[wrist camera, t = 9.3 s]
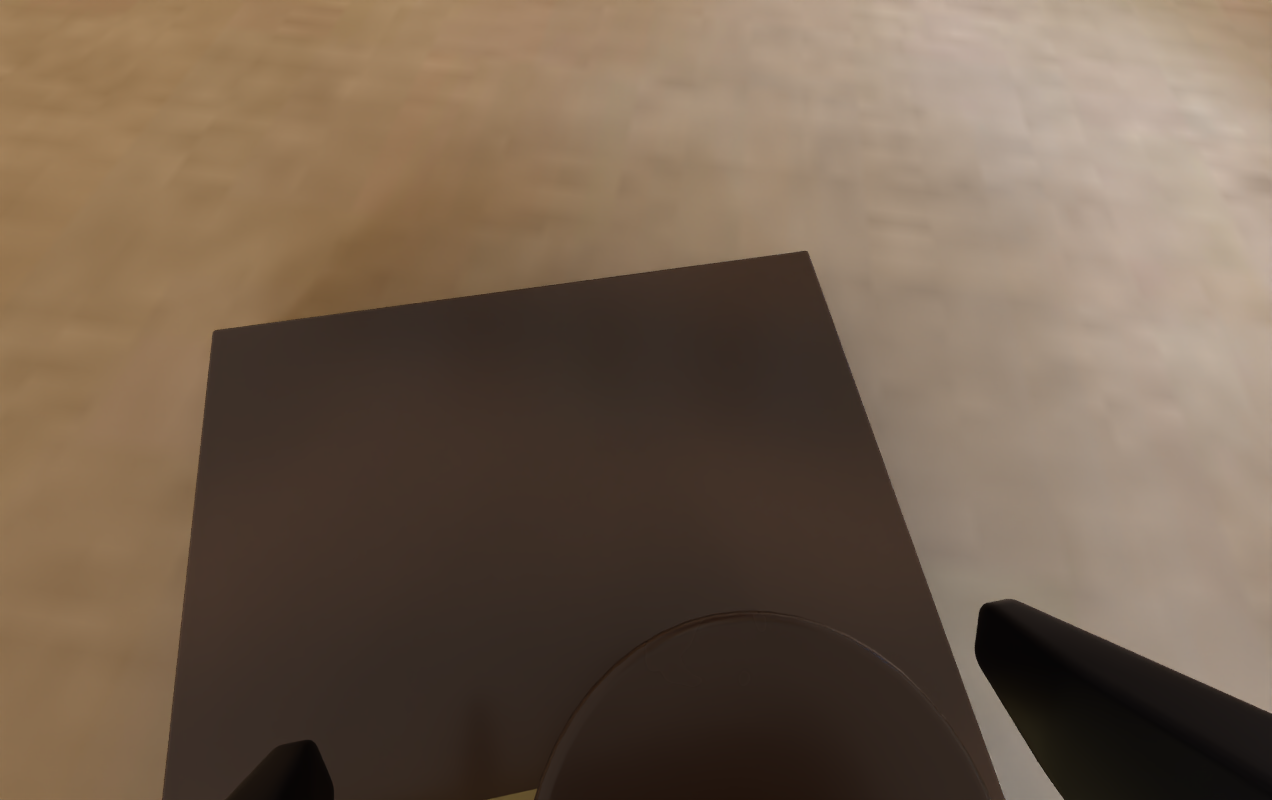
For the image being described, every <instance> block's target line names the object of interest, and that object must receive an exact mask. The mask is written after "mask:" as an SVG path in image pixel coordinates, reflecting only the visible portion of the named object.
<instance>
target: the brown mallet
mask: <svg viewBox="0 0 1272 800" xmlns="http://www.w3.org/2000/svg"><path fill="white" fill-rule="evenodd" d="M534 800H992V799H991V797H990V794H989V792H988V789H987V787H986V785H985V783H984V781H983V779H982V777H981V775H980V773H979V771H978V770H977V768H976V766H975V764H974V762H973V760H972V758H971V756H970V755H969V753H968V751H967V749H966V748H965V746H964V745H963V743H962V742H961V740H960V739H959V737H958V736H957V734H956V733H955V731H954V730H953V728H952V727H951V725H950V724H949V722H948V721H947V719H946V718H945V717H944V716H943V715H942V713H941V712H940V711H939V710H938V709H937V707H936V706H935V705H934V704H933V703H932V701H931V700H930V699H929V698H928V697H927V695H926V694H925V693H924V692H923V691H922V690H921V689H920V688H919V687H918V686H917V685H916V684H915V683H914V682H913V681H912V680H910V679H909V678H908V677H907V676H906V675H905V674H904V673H903V672H902V671H901V670H900V669H899V668H897V667H896V666H895V665H893V664H892V663H891V662H890V661H888V660H887V659H886V658H884V657H883V656H882V655H880V654H879V653H878V652H877V651H875V650H873V649H872V648H870V647H868V646H867V645H865V644H863V643H862V642H860V641H858V640H857V639H855V638H853V637H852V636H850V635H848V634H845V633H843V632H841V631H839V630H836V629H834V628H832V627H830V626H827V625H825V624H823V623H819V622H816V621H812V620H809V619H806V618H802V617H799V616H796V615H789V614H783V613H777V612H770V611H733V612H725V613H716V614H711V615H707V616H703V617H700V618H696V619H692V620H688V621H685V622H683V623H681V624H678V625H676V626H673V627H671V628H669V629H666V630H664V631H662V632H660V633H658V634H656V635H655V636H653V637H651V638H650V639H648V640H646V641H645V642H643V643H641V644H640V645H638V646H636V647H635V648H634V649H632V650H631V651H630V652H629V653H627V654H626V655H625V656H624V657H622V658H621V659H620V660H619V661H617V662H616V663H615V664H614V665H612V666H611V668H610V669H609V670H608V671H607V672H606V673H605V674H604V675H603V676H602V677H601V678H600V679H599V680H598V681H597V682H596V683H595V684H594V685H593V686H592V687H591V689H590V690H589V691H588V693H587V694H586V695H585V697H584V698H583V699H582V701H581V702H580V703H579V705H578V706H577V707H576V709H575V710H574V711H573V713H572V714H571V716H570V718H569V719H568V721H567V723H566V725H565V726H564V728H563V730H562V732H561V733H560V735H559V737H558V739H557V740H556V742H555V744H554V747H553V749H552V751H551V754H550V756H549V758H548V761H547V763H546V765H545V768H544V770H543V772H542V775H541V778H540V781H539V785H538V788H537V791H536V795H535V798H534Z"/></svg>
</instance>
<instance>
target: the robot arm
mask: <svg viewBox="0 0 1272 800" xmlns="http://www.w3.org/2000/svg"><path fill="white" fill-rule="evenodd" d="M975 655H976V659H977V661H978V664H979V666H980V668H981V670H982V671H983V673H984V674H985V676H986V678H987V679H988V681H989V683H990V684H991V686H992V688H993V689H994V691H995V692H996V694H997V696H998V697H999V699H1000V701H1001V702H1002V704H1003V706H1004V707H1005V709H1006V710H1007V712H1008V714H1009V715H1010V717H1011V719H1012V720H1013V722H1014V723H1015V725H1016V727H1017V728H1018V730H1019V732H1020V733H1021V735H1022V737H1023V738H1024V740H1025V741H1026V743H1027V745H1028V746H1029V748H1030V750H1031V751H1032V753H1033V755H1034V756H1035V758H1036V759H1037V761H1038V762H1039V764H1040V765H1041V767H1042V769H1043V770H1044V772H1045V773H1046V775H1047V776H1048V778H1049V779H1050V780H1051V782H1052V783H1053V785H1054V786H1055V787H1056V789H1057V790H1058V792H1059V793H1060V795H1061V796H1062V797H1063V799H1064V800H1272V714H1271V713H1269V712H1267V711H1264V710H1262V709H1260V708H1258V707H1255V706H1253V705H1251V704H1249V703H1246V702H1244V701H1242V700H1240V699H1237V698H1235V697H1233V696H1231V695H1228V694H1226V693H1224V692H1222V691H1219V690H1217V689H1215V688H1213V687H1210V686H1208V685H1206V684H1204V683H1201V682H1199V681H1197V680H1195V679H1192V678H1190V677H1188V676H1186V675H1183V674H1181V673H1179V672H1177V671H1174V670H1172V669H1170V668H1168V667H1165V666H1163V665H1161V664H1159V663H1156V662H1154V661H1152V660H1150V659H1147V658H1145V657H1143V656H1141V655H1138V654H1136V653H1134V652H1132V651H1129V650H1127V649H1125V648H1123V647H1120V646H1118V645H1116V644H1114V643H1111V642H1109V641H1107V640H1105V639H1102V638H1100V637H1098V636H1096V635H1093V634H1091V633H1089V632H1087V631H1084V630H1082V629H1080V628H1078V627H1075V626H1073V625H1071V624H1069V623H1066V622H1064V621H1062V620H1060V619H1057V618H1055V617H1053V616H1051V615H1048V614H1046V613H1044V612H1042V611H1039V610H1037V609H1035V608H1033V607H1030V606H1028V605H1026V604H1024V603H1021V602H1019V601H1017V600H1013V599H1004V600H999V601H994V602H989V603H986V604H984V605H983V606H982V607H981V608H980V611H979V617H978V625H977V633H976V640H975ZM225 800H334V787H333V783H332V780H331V777H330V775H329V772H328V770H327V768H326V765H325V763H324V761H323V758H322V756H321V753H320V751H319V749H318V747H317V745H316V743H315V742H313V741H312V740H302V741H297V742H292V743H287V744H282V745H280V746H277V747H276V748H274V749H273V750H272V751H271V752H270V753H269V754H268V755H267V756H266V757H265V758H264V759H263V760H262V761H261V762H260V763H259V764H258V765H257V766H256V767H255V769H254V770H253V771H252V772H251V773H250V774H249V775H248V776H247V777H246V778H245V779H244V780H243V781H242V782H241V783H240V784H239V785H238V786H237V788H236V789H235V790H234V791H233V792H232V793H231V794H230V795H229V796H228V797H227V798H226V799H225Z"/></svg>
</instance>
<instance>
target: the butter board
mask: <svg viewBox="0 0 1272 800" xmlns="http://www.w3.org/2000/svg"><path fill="white" fill-rule="evenodd" d="M733 611H770V612H777V613H783V614H789V615H796V616H799V617H802V618H806V619H809V620H812V621H816V622H819V623H823V624H825V625H827V626H830V627H832V628H834V629H836V630H839V631H841V632H843V633H845V634H848V635H850V636H852V637H853V638H855V639H857V640H858V641H860V642H862V643H863V644H865V645H867V646H868V647H870V648H872V649H873V650H875V651H877V652H878V653H879V654H880V655H882V656H883V657H884V658H886V659H887V660H888V661H890V662H891V663H892V664H893V665H895V666H896V667H897V668H899V669H900V670H901V671H902V672H903V673H904V674H905V675H906V676H907V677H908V678H909V679H910V680H912V681H913V682H914V683H915V684H916V685H917V686H918V687H919V688H920V689H921V690H922V691H923V692H924V693H925V694H926V695H927V697H928V698H929V699H930V700H931V701H932V703H933V704H934V705H935V706H936V707H937V709H938V710H939V711H940V712H941V713H942V715H943V716H944V717H945V718H946V719H947V721H948V722H949V724H950V725H951V727H952V728H953V730H954V731H955V733H956V734H957V736H958V737H959V739H960V740H961V742H962V743H963V745H964V746H965V748H966V749H967V751H968V753H969V755H970V756H971V758H972V760H973V762H974V764H975V766H976V768H977V770H978V771H979V773H980V775H981V777H982V779H983V781H984V783H985V785H986V787H987V789H988V792H989V794H990V797H991V799H992V800H1005V798H1004V795H1003V793H1002V790H1001V787H1000V784H999V781H998V779H997V776H996V773H995V770H994V768H993V765H992V762H991V759H990V756H989V754H988V751H987V748H986V745H985V743H984V740H983V737H982V734H981V731H980V729H979V726H978V723H977V720H976V718H975V715H974V712H973V709H972V706H971V704H970V701H969V698H968V695H967V693H966V690H965V687H964V684H963V681H962V679H961V676H960V673H959V670H958V668H957V665H956V662H955V659H954V656H953V654H952V651H951V648H950V645H949V643H948V640H947V637H946V634H945V631H944V629H943V626H942V623H941V620H940V618H939V615H938V612H937V609H936V606H935V604H934V601H933V598H932V595H931V593H930V590H929V587H928V584H927V581H926V579H925V576H924V573H923V570H922V568H921V565H920V562H919V559H918V556H917V554H916V551H915V548H914V545H913V543H912V540H911V537H910V534H909V531H908V529H907V526H906V523H905V520H904V517H903V515H902V512H901V509H900V506H899V504H898V501H897V498H896V495H895V492H894V490H893V487H892V484H891V481H890V479H889V476H888V473H887V470H886V467H885V465H884V462H883V459H882V456H881V454H880V451H879V448H878V445H877V442H876V440H875V437H874V434H873V431H872V429H871V426H870V423H869V420H868V417H867V415H866V412H865V409H864V406H863V404H862V401H861V398H860V395H859V392H858V390H857V387H856V384H855V381H854V379H853V376H852V373H851V370H850V367H849V365H848V362H847V359H846V356H845V354H844V351H843V348H842V345H841V342H840V340H839V337H838V334H837V331H836V329H835V326H834V323H833V320H832V317H831V315H830V312H829V309H828V306H827V304H826V301H825V298H824V295H823V292H822V290H821V287H820V284H819V281H818V279H817V276H816V273H815V270H814V267H813V265H812V262H811V259H810V256H809V254H808V252H807V251H801V252H794V253H787V254H779V255H772V256H764V257H757V258H749V259H742V260H734V261H727V262H720V263H712V264H705V265H697V266H690V267H682V268H675V269H667V270H660V271H653V272H645V273H638V274H630V275H623V276H615V277H608V278H601V279H593V280H586V281H578V282H571V283H563V284H556V285H548V286H541V287H534V288H526V289H519V290H511V291H504V292H496V293H489V294H481V295H474V296H467V297H459V298H452V299H444V300H437V301H429V302H422V303H414V304H407V305H400V306H392V307H385V308H377V309H370V310H362V311H355V312H348V313H340V314H333V315H325V316H318V317H310V318H303V319H295V320H288V321H281V322H273V323H266V324H258V325H251V326H243V327H236V328H228V329H221V330H215V331H214V332H213V335H212V345H211V354H210V363H209V372H208V382H207V391H206V400H205V409H204V419H203V428H202V437H201V446H200V455H199V465H198V474H197V483H196V492H195V502H194V511H193V520H192V529H191V539H190V548H189V557H188V566H187V576H186V585H185V594H184V603H183V612H182V622H181V631H180V640H179V649H178V659H177V668H176V677H175V686H174V696H173V705H172V714H171V723H170V733H169V742H168V751H167V760H166V769H165V779H164V788H163V797H162V800H225V799H226V798H227V797H228V796H229V795H230V794H231V793H232V792H233V791H234V790H235V789H236V788H237V786H238V785H239V784H240V783H241V782H242V781H243V780H244V779H245V778H246V777H247V776H248V775H249V774H250V773H251V772H252V771H253V770H254V769H255V767H256V766H257V765H258V764H259V763H260V762H261V761H262V760H263V759H264V758H265V757H266V756H267V755H268V754H269V753H270V752H271V751H272V750H273V749H274V748H276V747H277V746H280V745H282V744H287V743H292V742H297V741H302V740H312V741H313V742H315V743H316V745H317V747H318V749H319V751H320V753H321V756H322V758H323V761H324V763H325V765H326V768H327V770H328V772H329V775H330V777H331V780H332V783H333V787H334V800H488V799H492V798H497V797H501V796H506V795H511V794H515V793H520V792H524V791H529V790H534V789H537V788H538V785H539V781H540V778H541V775H542V772H543V770H544V768H545V765H546V763H547V761H548V758H549V756H550V754H551V751H552V749H553V747H554V744H555V742H556V740H557V739H558V737H559V735H560V733H561V732H562V730H563V728H564V726H565V725H566V723H567V721H568V719H569V718H570V716H571V714H572V713H573V711H574V710H575V709H576V707H577V706H578V705H579V703H580V702H581V701H582V699H583V698H584V697H585V695H586V694H587V693H588V691H589V690H590V689H591V687H592V686H593V685H594V684H595V683H596V682H597V681H598V680H599V679H600V678H601V677H602V676H603V675H604V674H605V673H606V672H607V671H608V670H609V669H610V668H611V666H612V665H614V664H615V663H616V662H617V661H619V660H620V659H621V658H622V657H624V656H625V655H626V654H627V653H629V652H630V651H631V650H632V649H634V648H635V647H636V646H638V645H640V644H641V643H643V642H645V641H646V640H648V639H650V638H651V637H653V636H655V635H656V634H658V633H660V632H662V631H664V630H666V629H669V628H671V627H673V626H676V625H678V624H681V623H683V622H685V621H688V620H692V619H696V618H700V617H703V616H707V615H711V614H716V613H725V612H733Z"/></svg>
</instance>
